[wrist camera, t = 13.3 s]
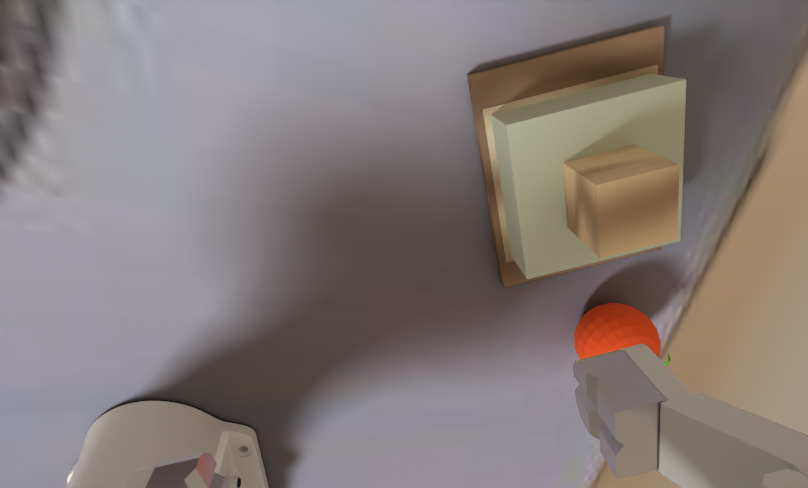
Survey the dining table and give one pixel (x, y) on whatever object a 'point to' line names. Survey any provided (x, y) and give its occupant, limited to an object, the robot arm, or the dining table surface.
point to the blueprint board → (544, 83)
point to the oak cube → (622, 200)
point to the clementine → (614, 330)
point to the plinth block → (572, 139)
